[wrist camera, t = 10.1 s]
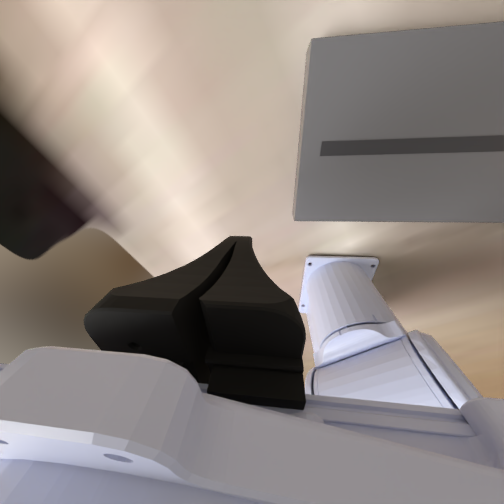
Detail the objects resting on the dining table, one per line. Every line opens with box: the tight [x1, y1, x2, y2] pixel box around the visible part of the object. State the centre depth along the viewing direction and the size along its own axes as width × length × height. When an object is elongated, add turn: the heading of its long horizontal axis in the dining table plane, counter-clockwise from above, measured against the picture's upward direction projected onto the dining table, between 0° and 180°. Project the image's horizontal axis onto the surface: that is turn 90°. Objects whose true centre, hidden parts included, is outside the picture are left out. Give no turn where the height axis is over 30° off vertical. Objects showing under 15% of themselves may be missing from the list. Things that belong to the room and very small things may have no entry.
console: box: [293, 22, 504, 223], centre depth 14 cm, size 12×26×2 cm, turn 92°
